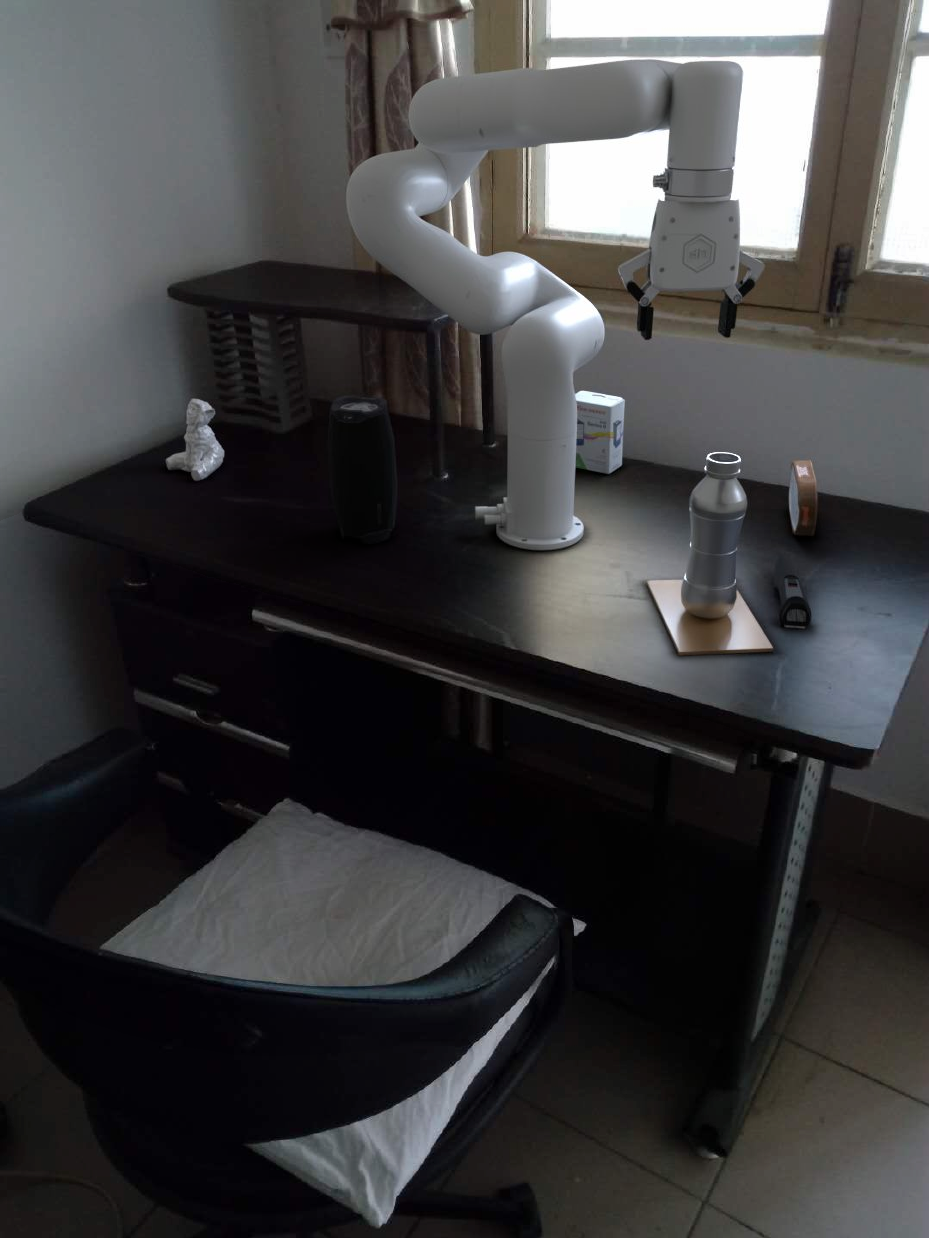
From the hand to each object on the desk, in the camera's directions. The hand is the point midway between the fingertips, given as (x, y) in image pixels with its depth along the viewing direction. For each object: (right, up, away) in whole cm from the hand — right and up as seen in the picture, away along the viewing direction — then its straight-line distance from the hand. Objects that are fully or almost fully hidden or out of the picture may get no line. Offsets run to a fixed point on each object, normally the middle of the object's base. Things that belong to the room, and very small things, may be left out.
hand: (684, 336), depth 123 cm
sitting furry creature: (-72, -9, +48) cm, 87 cm away
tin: (+22, -21, +25) cm, 39 cm away
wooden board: (+3, -34, +1) cm, 34 cm away
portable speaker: (-41, -22, +24) cm, 52 cm away
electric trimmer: (+14, -32, +5) cm, 35 cm away
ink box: (-5, -9, +46) cm, 47 cm away
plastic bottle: (+3, -34, +1) cm, 34 cm away
